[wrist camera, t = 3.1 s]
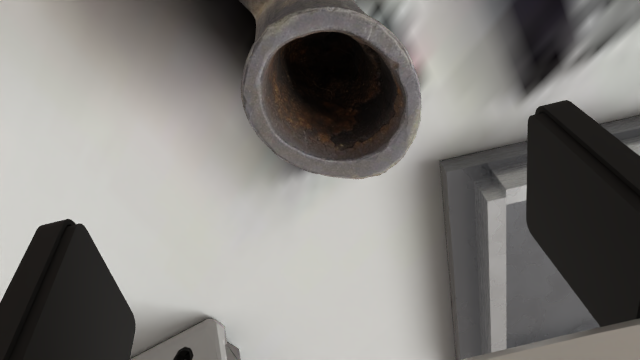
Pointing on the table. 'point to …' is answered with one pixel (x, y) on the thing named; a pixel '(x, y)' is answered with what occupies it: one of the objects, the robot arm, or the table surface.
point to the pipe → (329, 87)
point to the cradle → (505, 254)
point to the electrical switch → (195, 345)
